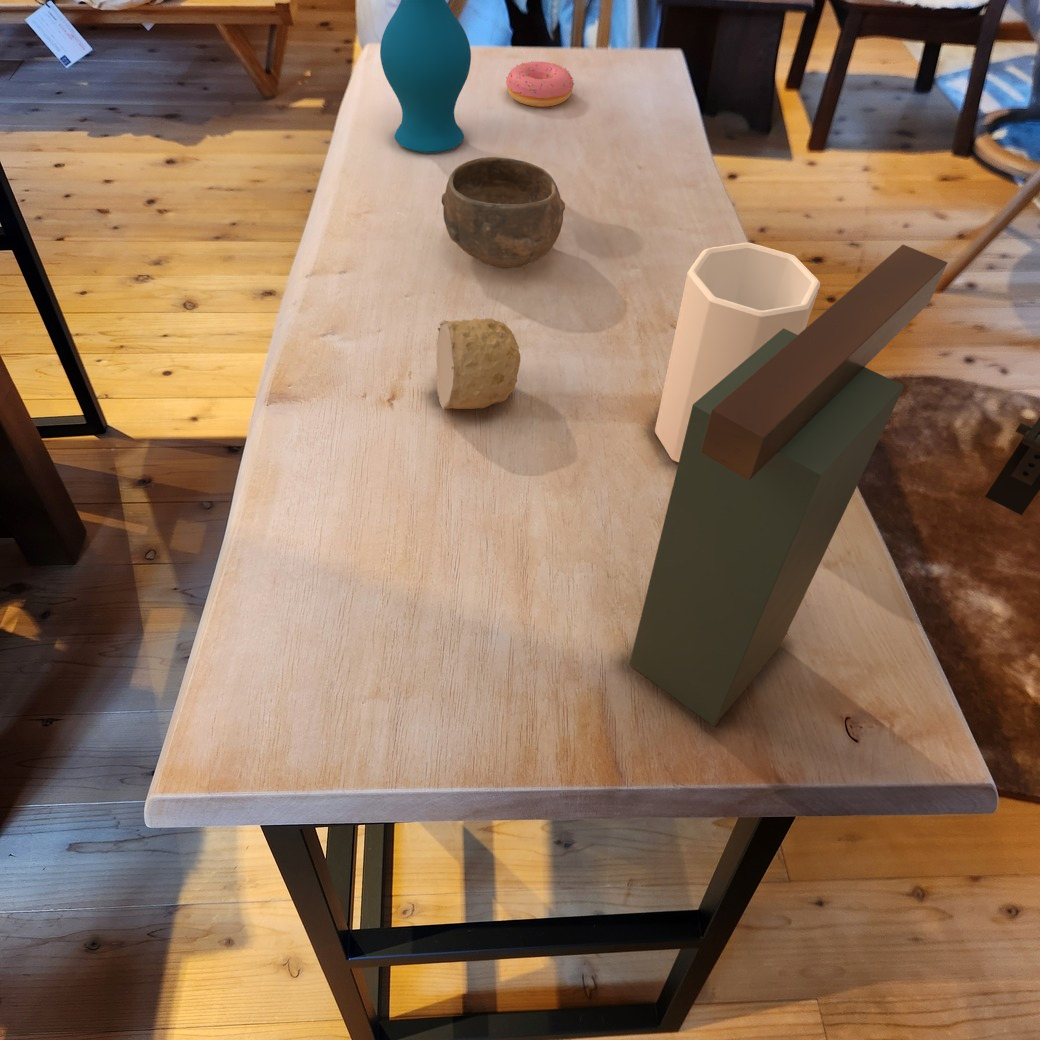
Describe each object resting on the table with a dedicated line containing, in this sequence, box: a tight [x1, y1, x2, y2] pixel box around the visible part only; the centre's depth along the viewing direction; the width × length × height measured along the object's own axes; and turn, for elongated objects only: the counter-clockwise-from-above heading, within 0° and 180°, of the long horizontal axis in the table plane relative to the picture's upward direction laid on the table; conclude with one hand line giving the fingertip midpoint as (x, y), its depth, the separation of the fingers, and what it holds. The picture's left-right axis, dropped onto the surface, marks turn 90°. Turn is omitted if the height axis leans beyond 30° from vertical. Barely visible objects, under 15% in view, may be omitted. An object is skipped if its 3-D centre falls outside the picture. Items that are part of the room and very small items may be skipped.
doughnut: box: [505, 60, 575, 108], centre depth 137 cm, size 11×11×4 cm
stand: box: [628, 328, 905, 727], centre depth 58 cm, size 8×10×27 cm
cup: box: [654, 242, 821, 463], centre depth 78 cm, size 11×11×18 cm
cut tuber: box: [436, 317, 521, 410], centre depth 85 cm, size 10×10×10 cm
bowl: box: [441, 156, 566, 270], centre depth 103 cm, size 14×15×10 cm
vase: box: [379, 0, 472, 154], centre depth 117 cm, size 12×13×28 cm
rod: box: [701, 244, 948, 480], centre depth 48 cm, size 3×22×3 cm, turn 138°
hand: (1035, 455), depth 65 cm, fingers open, 13 cm apart
